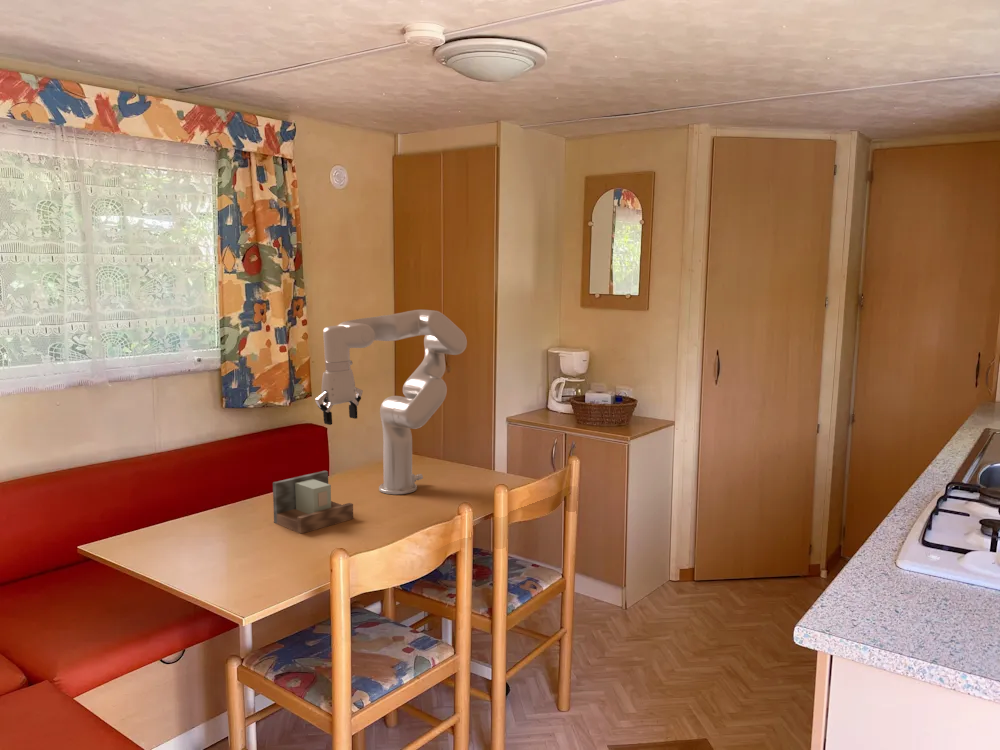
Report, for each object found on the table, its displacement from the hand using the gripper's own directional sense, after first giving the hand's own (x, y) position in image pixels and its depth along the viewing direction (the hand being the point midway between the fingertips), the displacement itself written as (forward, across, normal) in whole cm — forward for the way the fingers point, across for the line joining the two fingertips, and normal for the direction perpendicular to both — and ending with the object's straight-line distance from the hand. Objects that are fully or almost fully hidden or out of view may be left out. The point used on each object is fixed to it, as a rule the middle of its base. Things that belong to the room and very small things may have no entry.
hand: (341, 421), depth 240 cm
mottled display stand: (+26, +17, +7) cm, 32 cm away
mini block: (+23, +17, +7) cm, 29 cm away
